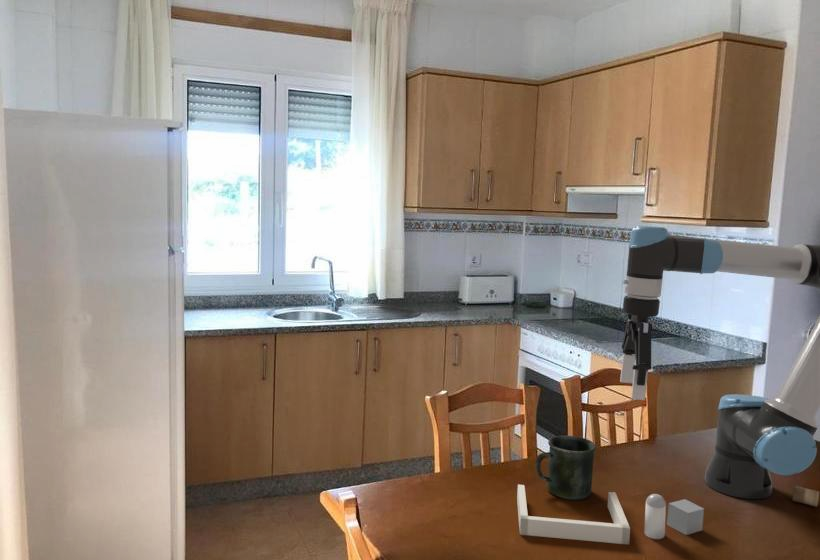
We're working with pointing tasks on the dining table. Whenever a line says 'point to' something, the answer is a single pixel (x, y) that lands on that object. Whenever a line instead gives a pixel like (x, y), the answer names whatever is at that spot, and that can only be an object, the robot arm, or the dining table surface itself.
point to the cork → (805, 496)
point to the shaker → (655, 517)
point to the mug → (568, 466)
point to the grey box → (685, 516)
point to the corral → (575, 524)
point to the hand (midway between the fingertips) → (631, 390)
